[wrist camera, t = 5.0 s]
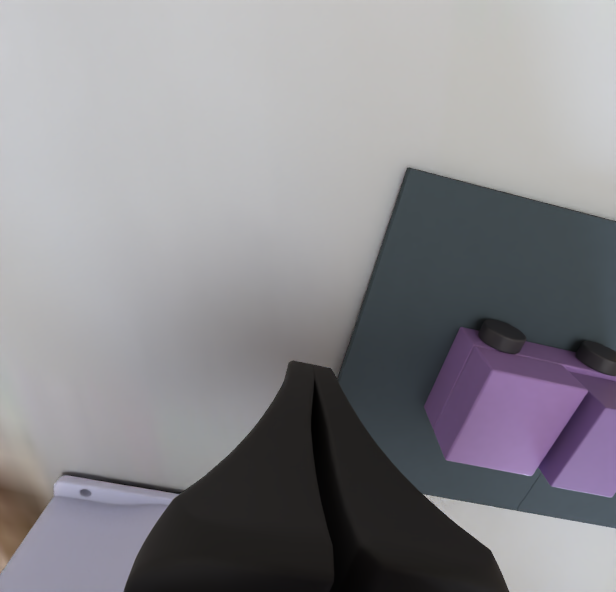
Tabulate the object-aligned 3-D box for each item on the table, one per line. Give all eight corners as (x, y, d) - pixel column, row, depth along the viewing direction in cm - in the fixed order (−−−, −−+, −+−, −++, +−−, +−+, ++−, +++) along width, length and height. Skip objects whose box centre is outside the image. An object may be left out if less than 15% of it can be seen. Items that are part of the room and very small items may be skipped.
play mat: (308, 467, 18) (308, 474, 18) (407, 166, 13) (410, 168, 12) (696, 536, 20) (703, 544, 20) (928, 302, 15) (944, 307, 14)
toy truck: (417, 417, 17) (442, 484, 14) (465, 311, 15) (508, 363, 11) (553, 443, 17) (607, 514, 14) (618, 346, 15) (698, 404, 12)
